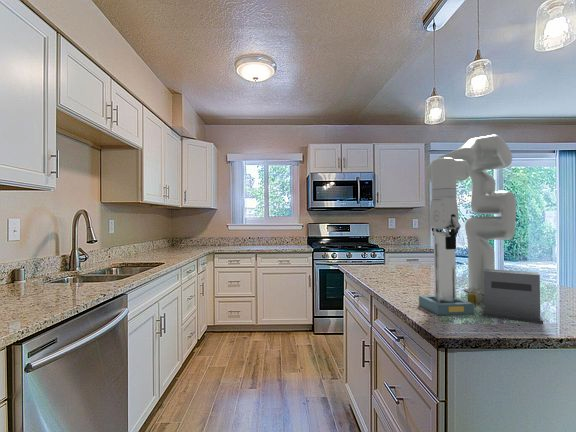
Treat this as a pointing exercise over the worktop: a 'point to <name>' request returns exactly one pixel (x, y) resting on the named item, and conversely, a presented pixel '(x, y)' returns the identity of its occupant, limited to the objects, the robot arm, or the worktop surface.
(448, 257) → the white tall cylinder
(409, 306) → the worktop surface
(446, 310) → the socket block
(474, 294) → the medication box
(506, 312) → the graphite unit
